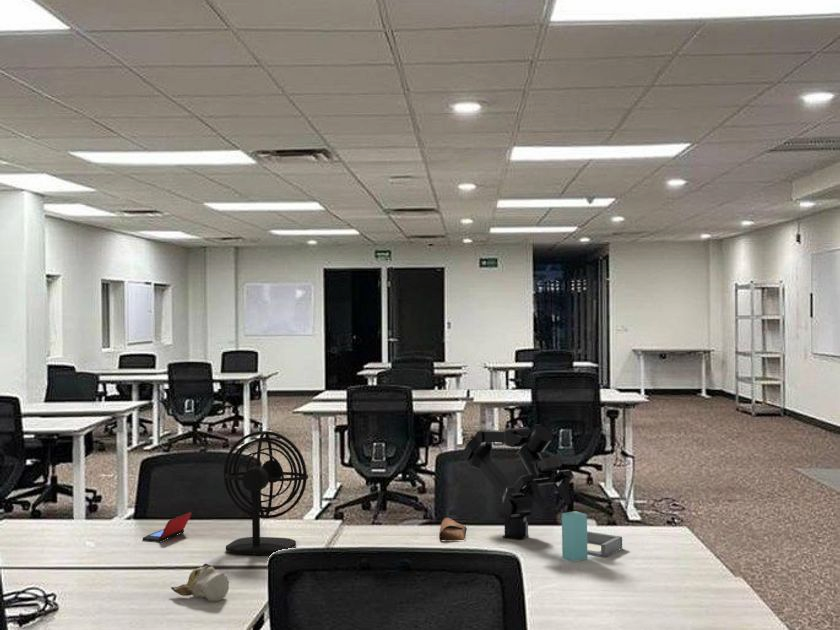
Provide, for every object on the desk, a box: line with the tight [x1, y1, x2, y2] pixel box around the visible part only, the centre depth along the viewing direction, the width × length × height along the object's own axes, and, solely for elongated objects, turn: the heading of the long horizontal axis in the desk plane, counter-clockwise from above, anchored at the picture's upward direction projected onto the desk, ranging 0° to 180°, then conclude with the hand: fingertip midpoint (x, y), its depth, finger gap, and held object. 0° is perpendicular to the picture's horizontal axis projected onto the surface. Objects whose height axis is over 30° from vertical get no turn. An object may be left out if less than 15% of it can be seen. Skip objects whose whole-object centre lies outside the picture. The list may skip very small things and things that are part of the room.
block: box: [561, 510, 589, 562], centre depth 243 cm, size 5×5×12 cm
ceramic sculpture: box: [170, 563, 230, 602], centre depth 213 cm, size 11×9×15 cm
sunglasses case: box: [438, 517, 467, 541], centre depth 272 cm, size 18×7×7 cm
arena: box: [587, 530, 623, 558], centre depth 251 cm, size 11×11×4 cm
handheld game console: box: [142, 511, 192, 542], centre depth 274 cm, size 12×11×7 cm
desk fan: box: [223, 430, 309, 556], centre depth 258 cm, size 27×18×35 cm, turn 78°
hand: (557, 505), depth 249 cm, fingers open, 9 cm apart
